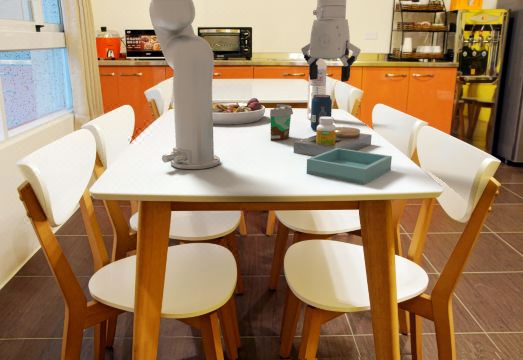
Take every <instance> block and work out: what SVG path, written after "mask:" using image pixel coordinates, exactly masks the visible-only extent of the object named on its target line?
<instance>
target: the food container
mask: <svg viewBox="0 0 523 360" xmlns="http://www.w3.org/2000/svg"><path fill="white" fill-rule="evenodd" d="M269 110H270V111H269V115H270V116H269V117H270V142H278V141H280V142H281V141H286V140H289V138H290V129H291V119H292V118H291V117H292V115H293V114H294V112H293V108H292V106H291V105H288V104H281V103H280V104H279V103H277V104H276V107H275V108H273V109H272V108H271V109H269Z"/></svg>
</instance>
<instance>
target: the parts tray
mask: <svg viewBox="0 0 523 360" xmlns="http://www.w3.org/2000/svg"><path fill="white" fill-rule="evenodd" d="M392 158H393V156H392V155H386V154H379V153H375V152H373V153H372V152H367V151H366V152H365V151H360V150H356V151H354V150H348V149H341V148H335V149H332V150H330V151H327V152H325V153H322V154H319V155H317V156H312V157H309V158H307V159H306V174H308V175H314V176H319V177H323V178H324V177H325V178H329V179H335V180H339V181H345V182H348V183H349V182H350V183H353V184H354V183H355V184H359V185H366V184H368V183H370V182H372V181H373V180H375V179H377V178H379V177H381V176H383V175H384V174H386V173H387V172H390V171H392V170H391V169H392Z"/></svg>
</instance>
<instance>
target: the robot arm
mask: <svg viewBox="0 0 523 360" xmlns="http://www.w3.org/2000/svg"><path fill="white" fill-rule="evenodd" d="M194 4H195V3H194V1H193V0H151V1H150V3H149V7H148V8H149V9H148V12H149V18H150V21H151V24H152V27H153V30H154V33H155V36H156V38H157V41H158V43H159V47H160V48H161V49H160V50H161V52H162V54H163V57H164V59H165V62H166V63H167V64H168V66H169V67H170V68H171V69H172V70H173V75H172V76H173V79H172V80H173V82H172V96H173V98H172V99H173V110H174V111H173V112H174V113H173V114H174V133H175V136H174V137H175V147H173V148H172V151H171V153H167V154H163V155H162V156H161V160H162V162H163V163H165V164H166V163H169V162H170V165H171V167H174V168H177V169H183V170H201V169H203V170H204V169H210V168H213V167H216V166H218V165H219V164H220V163H221V158H220V157H219V156H218V155H216V154H215V152H214V151H215V148H214V147H215V146H214V124H213V77H214V67H215V64H214V63H215V57H214V51H213V49H212V46H211V44H209V42H208V41H207V40H206V39H205V38H203V37H201V36H199V35H196V34H195V32H194V31H195V30H194V27H193V25H192V23H193V22H194V20H195V17H196V8H195V5H194ZM312 14H313V16H316V17H315V18H316V19H313V22H312V25H311V32H310V39H309V43H308V44H306V45H304V46H303V47H301V53H302V55H303V59H304V60H305V61H306V63H307V65H308V77H309V76H310V80H314V79H317V76H318V65H317V64H316V63H317V61H318V60H319V59H320V58H322V59H323V60H324V59H325V60H326V59H327V60H328V59H329V60H336V59H337V60H340V61H341V63H342V66H341V75H340V76H341V78H340V81H341V82H344V83H345V82H348V81H349V79H350V76H351V66H352V65H353V64H354V62H356V60H357V59H358V57H359V55H360V53H361V50H362V49H361V48H360V47H358V46H356V45H355V44H353V43H351V41H350V40H351V39H350V25H349V20H348V19H346V17H347V16H346V15H347V0H317V2H316V9H314V10H313V11H312ZM350 51H351V52H352V54H351V56H350V57H349V55H350Z"/></svg>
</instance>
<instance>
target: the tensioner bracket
mask: <svg viewBox="0 0 523 360" xmlns="http://www.w3.org/2000/svg"><path fill="white" fill-rule="evenodd" d="M335 127H336V137H335V144H332V145H328V144H321V143H316V135H312V136H309V137H306V138H303V139H299V140H296V141H294V142H293V153H295V154H300V155H308V156H312V157H314V156H317V155H319V154H322V153H325V152H327V151H330V150H332V149H335V148H341V149H348V150H354V151H360V150H361V149H364V148H365V147H368V146H371V145H372V136H373V135H372V134H369V133H361V130H360V129H359V128H357V127H349V126H348V127H347V126H335Z"/></svg>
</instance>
